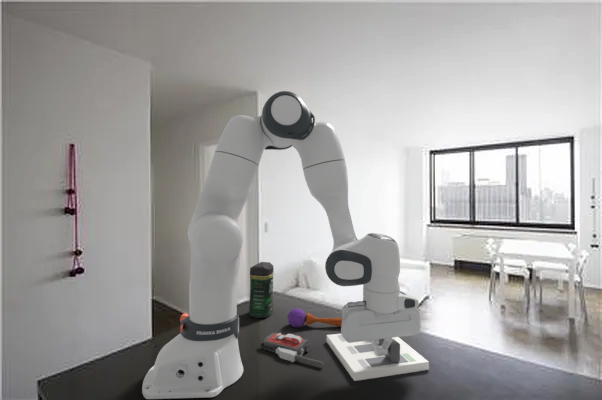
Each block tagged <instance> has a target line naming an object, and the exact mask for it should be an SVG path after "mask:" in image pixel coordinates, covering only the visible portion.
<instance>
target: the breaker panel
mask: <svg viewBox="0 0 602 400" xmlns="http://www.w3.org/2000/svg"><path fill="white" fill-rule="evenodd" d="M392 339H394V340H395V341H397V342H398V343H399V344H400V361H397V362H390V361H389V360H388V359H387V358H386V357H385V355H383V356H376V355H375V353H374V346H373V344H372V343H371V341H370V340H369V341H360V342H352V343H348V342H347V341H346V340H345V339H344V338H343V337H342V335H341V333H336V334H335V333H334V334H326V343H327V345H329V347H330V349H331V350H332V352H333V353H334V354H335V356H336V357H337V359H338V360H339V362H340V363H341V364H342V366H343V367H344V368H345V370H346V372H348V374H349V376H350V377H351V379H353V381H354V382H356V381H363V380H370V379H377V378H381V377H382V378H384V377H389V376H396V375H402V374H403V375H404V374H409V373H417V372H422V371H429V370H430V361H428V359H426V358H425V357H424V356H423V355H421V354H420V353H419V352H418V351H416V350H415V349H414V348H412V347H411V345H409V344H408V343H406V342H405V340H403V339H401V338H400V337H393V338H392ZM377 345H378V346H381V345H380V344H379V343H377Z"/></svg>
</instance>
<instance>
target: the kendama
mask: <svg viewBox="0 0 602 400" xmlns="http://www.w3.org/2000/svg"><path fill="white" fill-rule="evenodd" d="M287 320H288V323H289V324H290V326H291V327H293V328H301V327H302V326H303V325H305V324H306V325H305V326H308V325H311V324H314V323H321V324H326V325H330V326H331V325H332V326H335V327H340V328H341V325H342V317H316V316H314V314H311V313H309V312H307V313H305V311H304V310H302V309H301V308H293V309H291V310H290V311H289V312H288V314H287Z"/></svg>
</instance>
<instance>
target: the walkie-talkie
mask: <svg viewBox="0 0 602 400" xmlns="http://www.w3.org/2000/svg"><path fill="white" fill-rule="evenodd" d="M259 347H260V348H262V349H263V350H264V351H266V350H268V351H269V352H271V353H274V354H276V355H277V356H278V357H279V358H280V359H282V360H286V361H288V362H291V363H295V362H296V361H298V362H299V361H300V362H305V363H308V364H312V365H313V364H315V365H320V366H324V365H325V363H324V362H323V361H321V360H319V359H318V360H317V359H313V358H309V357H305V356H303V355H304V354H305V353H306V352H307V353H309V351H310V349H311V348H310V347H311V345H310V343H309V340H308V339H306V338H305V339H304V338H303V337H302V336H300V335H295V334H293V333H287V334H282V333H281V332H279V333H278V332H272V333H270V334H269V335H267V336H266V337H265V338H264V339H263V342H260V343H259ZM268 351H267V352H268Z"/></svg>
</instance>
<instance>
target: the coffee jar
mask: <svg viewBox="0 0 602 400" xmlns="http://www.w3.org/2000/svg"><path fill="white" fill-rule="evenodd" d="M274 274H275V273H274V265H273V264H272V263H271V262H270V261H269V262H267V261H260V262H258V263H256V264H254V265H253V266H251V267H250V270H249V283H250V284H249V310H248V313H249V316H250V317H252V318H255V319H262V318H265V319H266V318H268V317H270V315H272V313H273V312H274Z"/></svg>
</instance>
